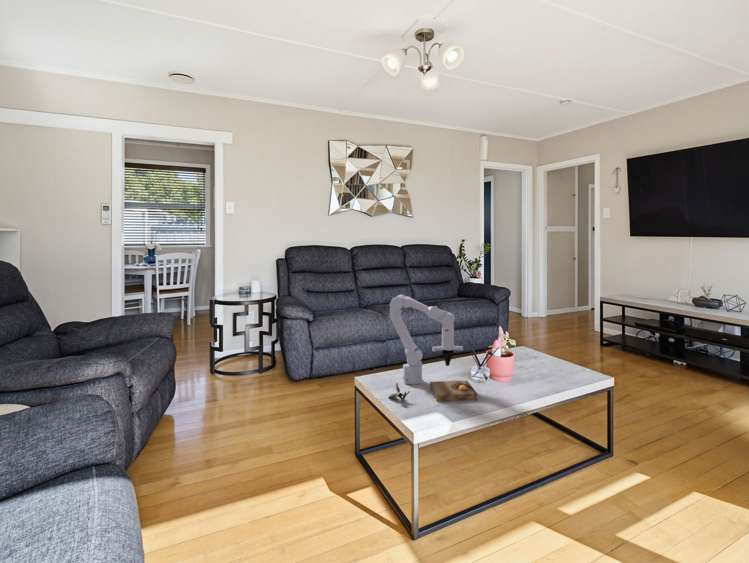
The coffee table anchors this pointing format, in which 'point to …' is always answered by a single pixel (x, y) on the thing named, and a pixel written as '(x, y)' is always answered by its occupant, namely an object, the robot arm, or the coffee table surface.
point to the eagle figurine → (399, 394)
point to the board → (452, 391)
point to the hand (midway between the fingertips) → (447, 365)
